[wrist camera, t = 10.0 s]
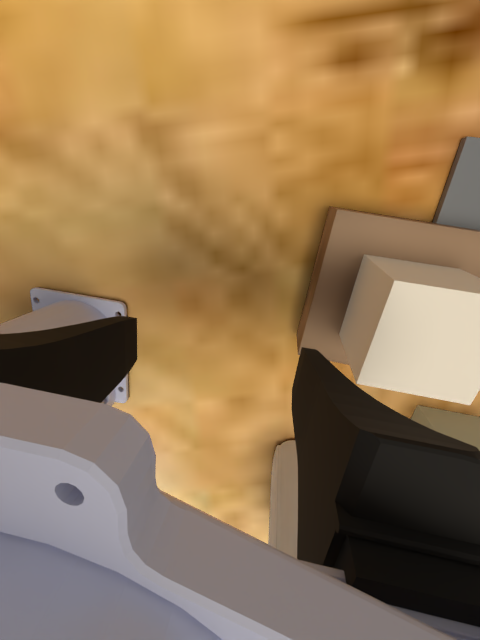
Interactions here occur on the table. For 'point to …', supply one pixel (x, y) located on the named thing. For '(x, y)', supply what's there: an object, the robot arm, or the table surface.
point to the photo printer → (284, 499)
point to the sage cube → (450, 424)
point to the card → (462, 189)
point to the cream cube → (414, 329)
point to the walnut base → (376, 240)
